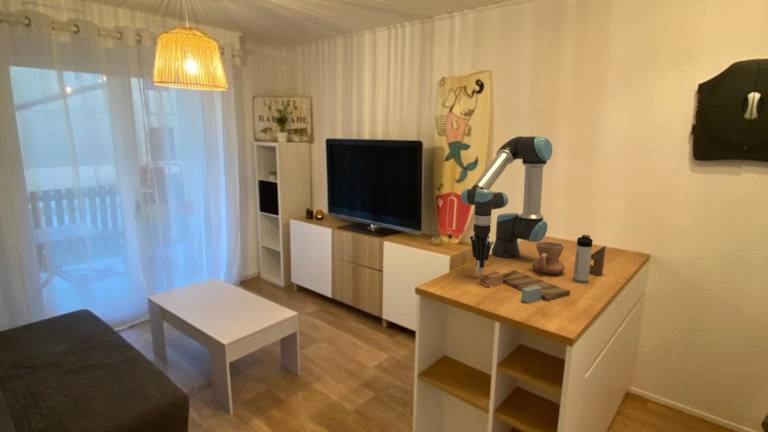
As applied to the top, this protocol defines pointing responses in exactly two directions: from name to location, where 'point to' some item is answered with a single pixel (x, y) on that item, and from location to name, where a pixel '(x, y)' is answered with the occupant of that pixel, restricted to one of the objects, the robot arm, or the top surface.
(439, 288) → the top surface
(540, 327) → the top surface
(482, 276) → the brown wooden handled block
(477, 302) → the top surface
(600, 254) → the wooden block
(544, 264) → the ceramic jug
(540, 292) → the block
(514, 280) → the board
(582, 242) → the travel mug
